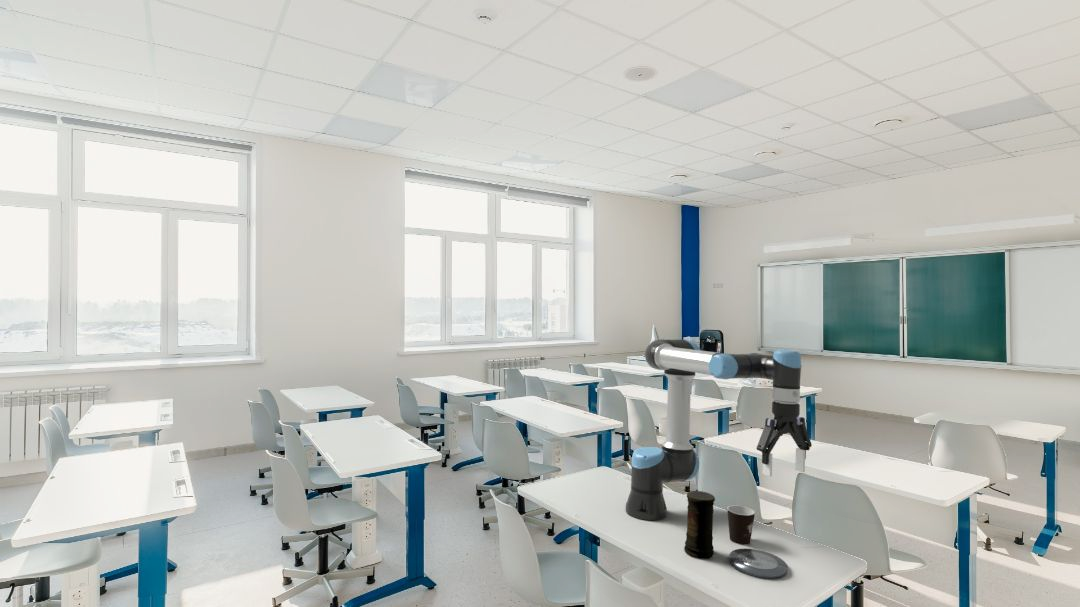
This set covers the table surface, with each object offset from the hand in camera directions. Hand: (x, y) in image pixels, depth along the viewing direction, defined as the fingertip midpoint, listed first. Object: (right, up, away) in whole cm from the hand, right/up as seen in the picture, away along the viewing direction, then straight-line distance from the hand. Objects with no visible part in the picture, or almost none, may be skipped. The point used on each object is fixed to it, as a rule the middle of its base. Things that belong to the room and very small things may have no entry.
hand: (783, 473), depth 157 cm
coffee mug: (-5, -28, +18) cm, 34 cm away
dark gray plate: (-8, -28, 0) cm, 29 cm away
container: (-23, -28, +7) cm, 37 cm away
